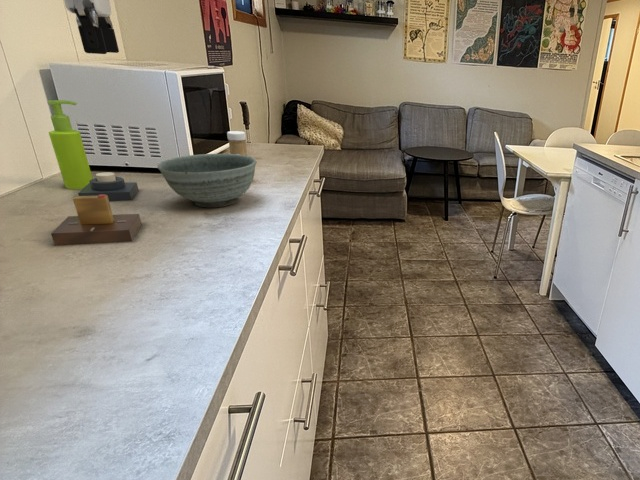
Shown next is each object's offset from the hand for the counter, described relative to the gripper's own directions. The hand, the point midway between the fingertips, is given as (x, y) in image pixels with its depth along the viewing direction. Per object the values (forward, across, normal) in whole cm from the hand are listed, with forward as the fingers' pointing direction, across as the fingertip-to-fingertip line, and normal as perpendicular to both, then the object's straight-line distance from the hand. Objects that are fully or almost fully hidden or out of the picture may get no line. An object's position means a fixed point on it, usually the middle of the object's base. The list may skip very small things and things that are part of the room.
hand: (103, 52), depth 85 cm
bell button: (+28, -20, -10) cm, 35 cm away
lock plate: (+32, +8, -6) cm, 33 cm away
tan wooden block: (+29, +8, -6) cm, 31 cm away
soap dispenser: (+32, -30, -18) cm, 47 cm away
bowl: (+32, -11, +13) cm, 36 cm away
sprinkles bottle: (+32, -31, +19) cm, 49 cm away
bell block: (+32, -20, -10) cm, 38 cm away
